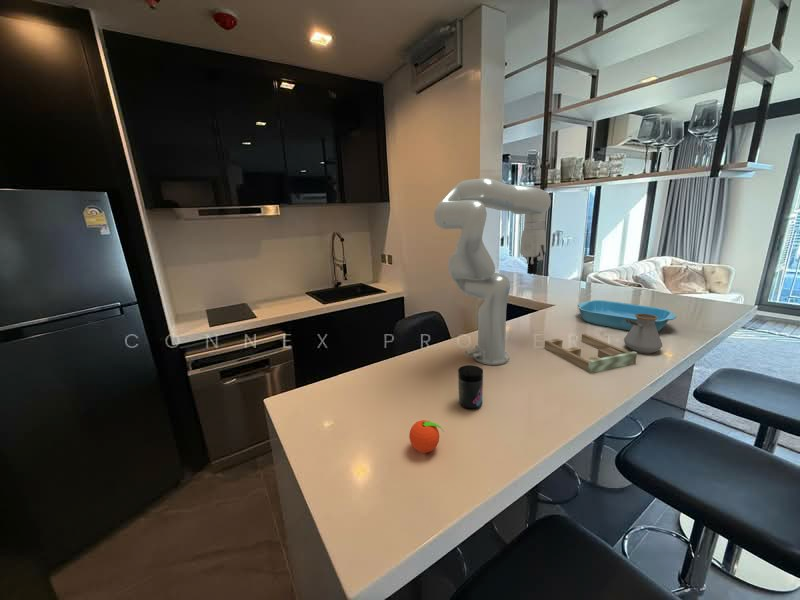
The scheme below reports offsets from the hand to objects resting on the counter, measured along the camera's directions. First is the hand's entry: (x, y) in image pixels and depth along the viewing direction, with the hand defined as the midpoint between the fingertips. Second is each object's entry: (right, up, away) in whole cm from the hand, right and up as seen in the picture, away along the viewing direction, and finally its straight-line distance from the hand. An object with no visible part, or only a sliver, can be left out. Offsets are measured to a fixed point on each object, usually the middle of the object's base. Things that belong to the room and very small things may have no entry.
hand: (531, 273), depth 132 cm
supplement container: (-33, -40, -38) cm, 64 cm away
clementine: (-46, -46, -55) cm, 85 cm away
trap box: (+15, -31, -13) cm, 36 cm away
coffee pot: (+32, -30, -13) cm, 46 cm away
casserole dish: (+47, -22, +17) cm, 55 cm away
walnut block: (+19, -32, -18) cm, 42 cm away
